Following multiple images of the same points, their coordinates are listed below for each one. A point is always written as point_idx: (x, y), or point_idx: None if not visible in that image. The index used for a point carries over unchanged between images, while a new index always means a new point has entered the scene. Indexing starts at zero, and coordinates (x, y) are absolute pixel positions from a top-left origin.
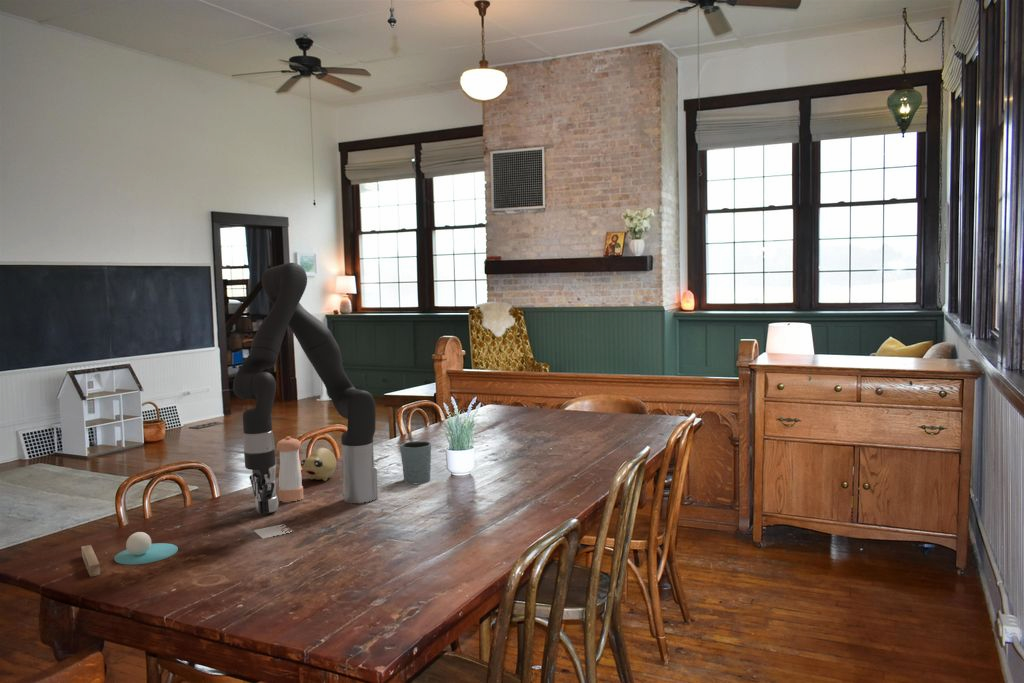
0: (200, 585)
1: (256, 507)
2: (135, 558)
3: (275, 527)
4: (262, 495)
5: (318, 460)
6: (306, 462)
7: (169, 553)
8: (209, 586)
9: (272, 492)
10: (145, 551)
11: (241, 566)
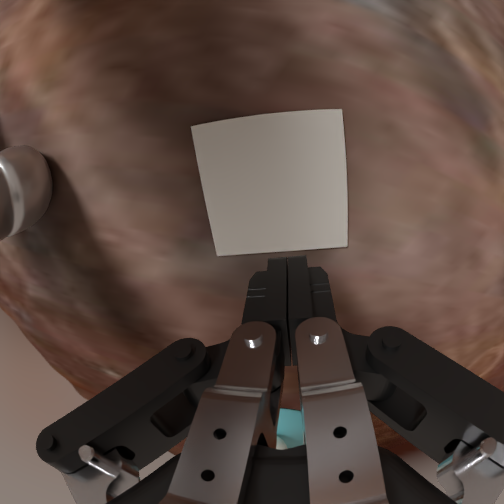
0: (485, 373)
1: (33, 224)
2: (289, 439)
3: (225, 168)
4: (414, 412)
5: None
6: None
7: (301, 417)
8: (498, 363)
9: (472, 375)
10: (281, 439)
11: (486, 323)
